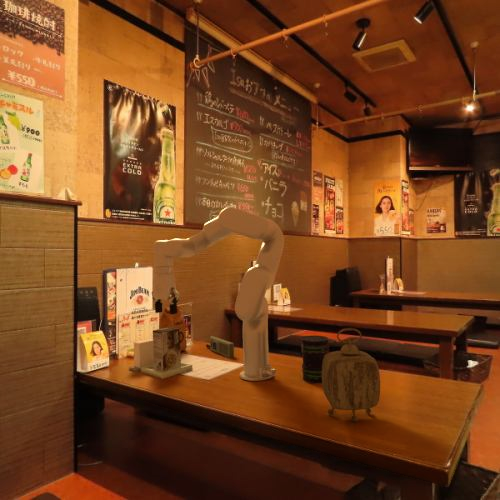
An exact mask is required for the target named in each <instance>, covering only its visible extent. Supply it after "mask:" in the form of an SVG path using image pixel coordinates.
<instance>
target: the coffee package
mask: <svg viewBox="0 0 500 500" xmlns="http://www.w3.org/2000/svg"><path fill="white" fill-rule="evenodd" d="M180 309H181V306H180V305H177V314H170V306H169V307H165V308H164V309H163V310H162V312H161V313H162V314H161V316H160V319H159V327H158V329H162V328H167V327H174V328H179V335H180V353H181V352H183V351H186V349H187V347H188V345H187V344H188V343H187V327H186V323H185V321H184V318H183V317H182V315H181V311H180Z"/></svg>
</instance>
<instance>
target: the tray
mask: <svg viewBox="0 0 500 500" xmlns="http://www.w3.org/2000/svg"><path fill="white" fill-rule="evenodd" d="M192 370H193V364H191V363H186V362H184V361H181V367H180V368H176V369H173V370H169V371H166V372H159V371H156V370H154V364H152V365H148V366H145V367H141V371H140V373H142V374H144V375H149V376H152V377H155V378H159V379H161V380H163V379H166V378H170V377H172V376H176V375H179V374H183V373H185V372H189V371H192Z"/></svg>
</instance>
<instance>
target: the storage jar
mask: <svg viewBox="0 0 500 500" xmlns="http://www.w3.org/2000/svg"><path fill="white" fill-rule="evenodd" d="M329 349H330V345H329V337H327V336H324V335H307V336H306V335H305V336H302V337H301V354H302V364H301V370H302V371H301V373H302V381H304V382H305V383H307V384H308V383H309V384H322V363H323V359H324V356H325V355H326V354H328V353H330V350H329Z"/></svg>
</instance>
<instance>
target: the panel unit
mask: <svg viewBox="0 0 500 500" xmlns="http://www.w3.org/2000/svg"><path fill="white" fill-rule="evenodd" d="M133 359H134V361H133V362H134V365H132V366H128V370H129V371H133V372H136V373H137V372H138V373H139V372H141V367H145V366H148V365H152V364H154V354H153V337H152V338H149V339H148V338H147V339H143V340H139V341H133Z"/></svg>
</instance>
